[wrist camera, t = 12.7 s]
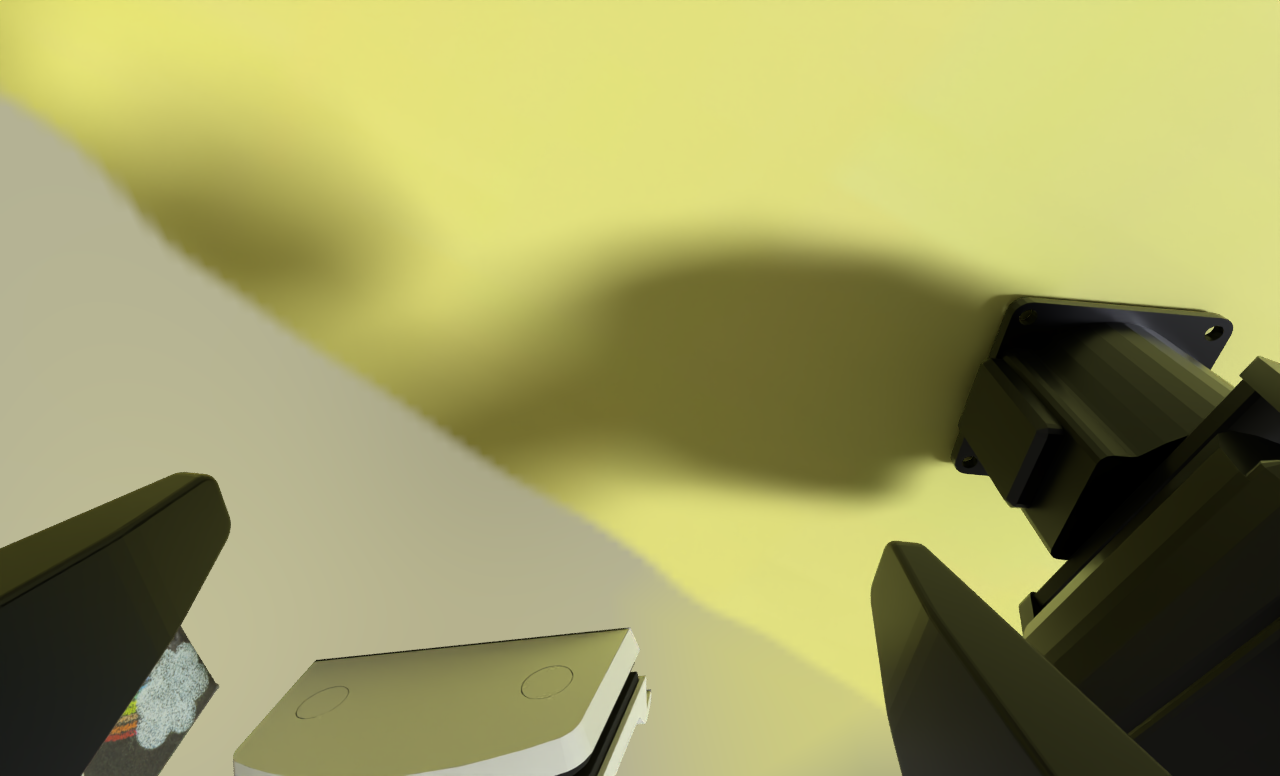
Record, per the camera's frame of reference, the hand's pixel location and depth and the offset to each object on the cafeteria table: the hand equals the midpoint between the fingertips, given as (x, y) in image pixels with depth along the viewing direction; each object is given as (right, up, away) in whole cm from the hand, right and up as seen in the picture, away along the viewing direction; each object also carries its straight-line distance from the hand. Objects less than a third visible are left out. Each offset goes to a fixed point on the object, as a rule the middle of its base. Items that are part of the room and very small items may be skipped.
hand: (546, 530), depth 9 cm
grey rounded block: (-7, -11, +23) cm, 26 cm away
